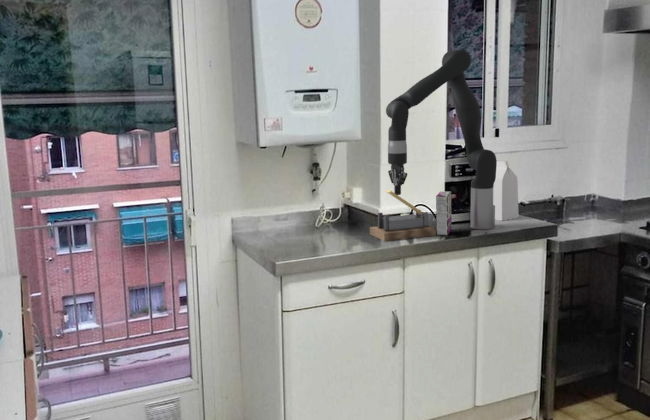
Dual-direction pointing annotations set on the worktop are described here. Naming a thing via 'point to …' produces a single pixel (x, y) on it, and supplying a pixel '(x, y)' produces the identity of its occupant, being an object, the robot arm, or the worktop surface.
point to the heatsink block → (402, 222)
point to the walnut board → (402, 233)
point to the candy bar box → (443, 213)
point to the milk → (505, 192)
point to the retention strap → (405, 202)
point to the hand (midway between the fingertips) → (397, 194)
